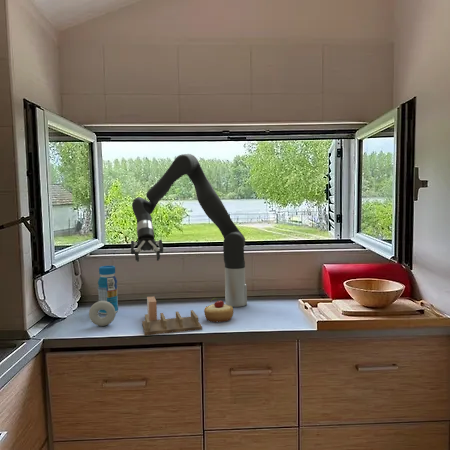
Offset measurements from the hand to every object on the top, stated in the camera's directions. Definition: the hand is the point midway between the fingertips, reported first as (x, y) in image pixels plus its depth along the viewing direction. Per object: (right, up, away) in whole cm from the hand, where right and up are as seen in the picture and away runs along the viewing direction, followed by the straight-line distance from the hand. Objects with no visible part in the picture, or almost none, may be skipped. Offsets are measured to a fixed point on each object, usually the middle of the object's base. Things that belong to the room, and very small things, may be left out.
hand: (148, 260), depth 180 cm
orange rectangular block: (+4, -23, -11) cm, 26 cm away
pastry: (+31, -23, -14) cm, 41 cm away
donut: (-14, -24, -20) cm, 34 cm away
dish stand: (+13, -24, -23) cm, 35 cm away
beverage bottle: (-17, -23, 0) cm, 29 cm away
